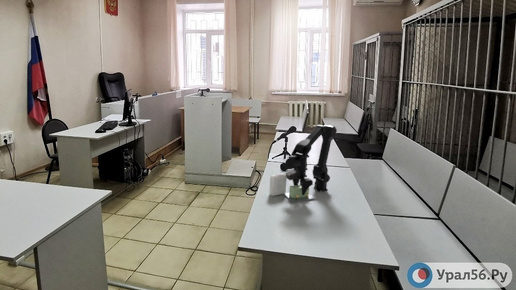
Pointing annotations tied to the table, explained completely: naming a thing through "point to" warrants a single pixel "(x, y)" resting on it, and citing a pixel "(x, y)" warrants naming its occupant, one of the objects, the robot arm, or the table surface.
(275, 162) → the table surface
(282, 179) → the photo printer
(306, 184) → the robot arm
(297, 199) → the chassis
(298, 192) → the block
